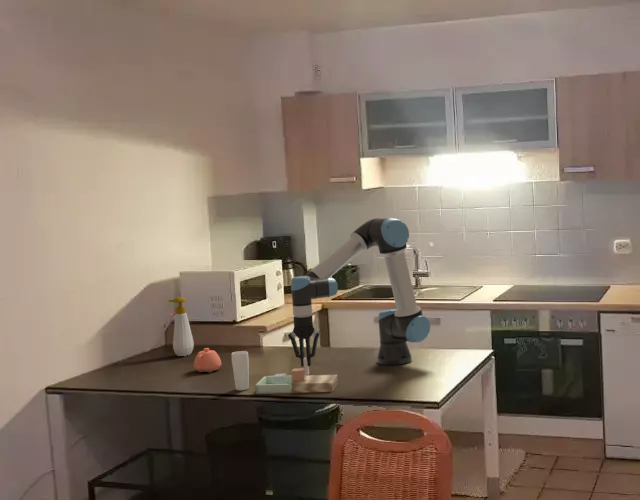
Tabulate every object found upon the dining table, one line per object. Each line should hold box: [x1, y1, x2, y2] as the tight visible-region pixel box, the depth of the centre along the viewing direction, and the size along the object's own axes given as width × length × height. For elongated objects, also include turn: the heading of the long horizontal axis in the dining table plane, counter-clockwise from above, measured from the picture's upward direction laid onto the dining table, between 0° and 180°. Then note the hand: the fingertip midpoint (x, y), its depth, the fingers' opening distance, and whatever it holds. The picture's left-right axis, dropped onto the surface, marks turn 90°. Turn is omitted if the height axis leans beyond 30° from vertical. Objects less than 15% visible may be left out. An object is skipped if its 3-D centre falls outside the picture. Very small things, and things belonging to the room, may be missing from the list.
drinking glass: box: [231, 350, 250, 392], centre depth 374 cm, size 7×7×15 cm
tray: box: [254, 374, 293, 395], centre depth 371 cm, size 14×16×4 cm
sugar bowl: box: [193, 347, 222, 374], centre depth 414 cm, size 12×14×10 cm
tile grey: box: [273, 372, 287, 384], centre depth 371 cm, size 5×5×4 cm
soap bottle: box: [168, 296, 195, 357], centre depth 454 cm, size 13×10×29 cm
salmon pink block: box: [290, 367, 307, 381], centre depth 369 cm, size 5×5×4 cm
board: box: [291, 374, 339, 394], centre depth 368 cm, size 16×14×4 cm
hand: (306, 374), depth 369 cm, fingers closed
